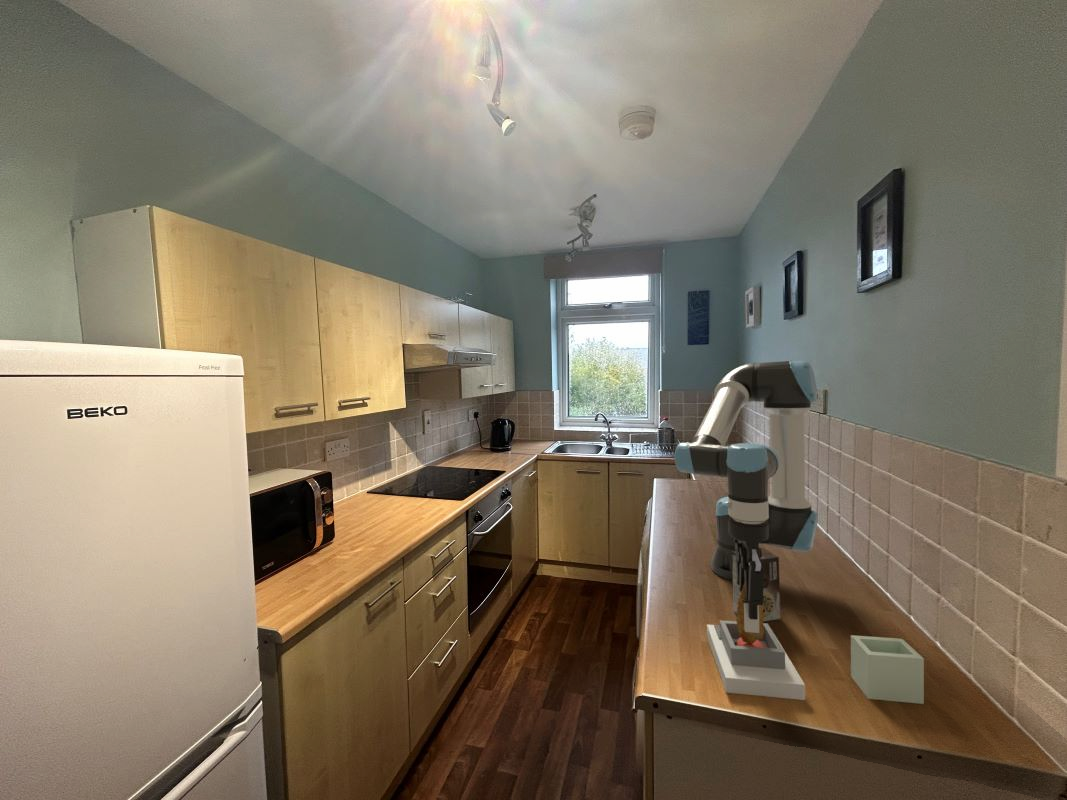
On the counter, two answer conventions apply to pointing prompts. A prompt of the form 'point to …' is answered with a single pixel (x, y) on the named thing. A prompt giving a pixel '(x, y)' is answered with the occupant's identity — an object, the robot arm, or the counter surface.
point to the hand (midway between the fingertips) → (749, 627)
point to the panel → (754, 664)
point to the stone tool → (745, 636)
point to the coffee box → (770, 586)
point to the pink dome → (755, 644)
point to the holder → (887, 669)
